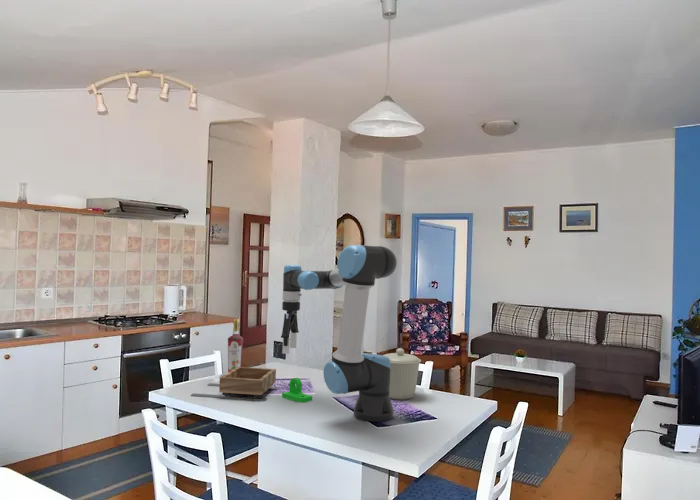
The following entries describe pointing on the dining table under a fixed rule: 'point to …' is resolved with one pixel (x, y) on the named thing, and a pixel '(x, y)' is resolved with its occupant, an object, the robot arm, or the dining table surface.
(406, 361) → the canister
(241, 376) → the wooden crate
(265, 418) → the dining table surface
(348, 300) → the robot arm
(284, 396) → the mechanical part
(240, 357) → the liquor
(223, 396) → the cart rails
